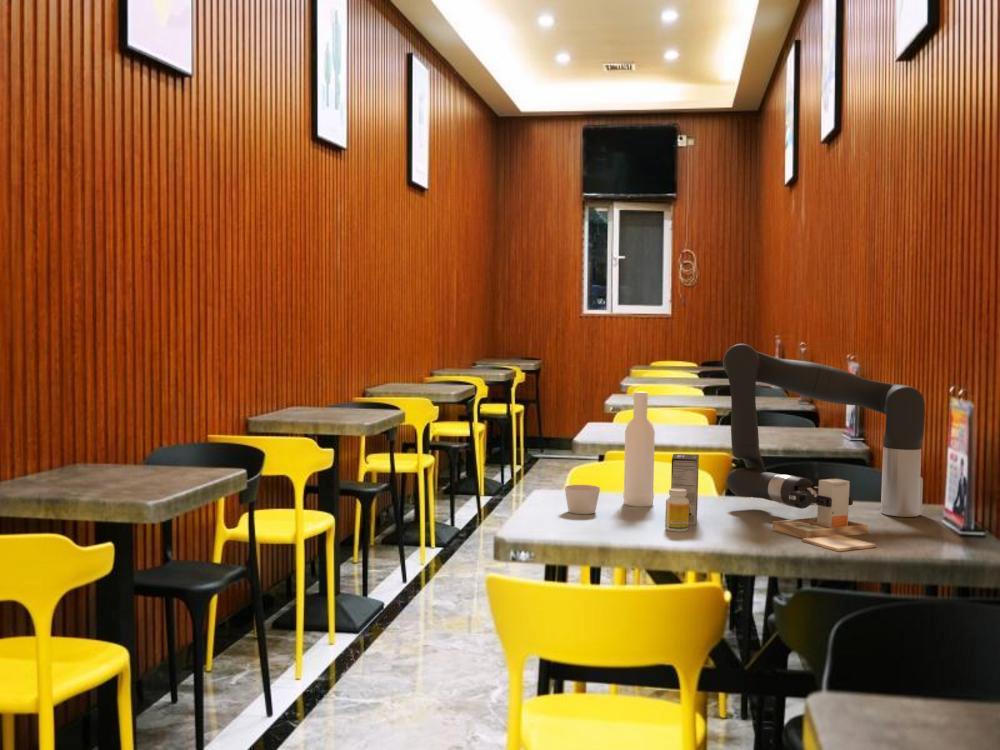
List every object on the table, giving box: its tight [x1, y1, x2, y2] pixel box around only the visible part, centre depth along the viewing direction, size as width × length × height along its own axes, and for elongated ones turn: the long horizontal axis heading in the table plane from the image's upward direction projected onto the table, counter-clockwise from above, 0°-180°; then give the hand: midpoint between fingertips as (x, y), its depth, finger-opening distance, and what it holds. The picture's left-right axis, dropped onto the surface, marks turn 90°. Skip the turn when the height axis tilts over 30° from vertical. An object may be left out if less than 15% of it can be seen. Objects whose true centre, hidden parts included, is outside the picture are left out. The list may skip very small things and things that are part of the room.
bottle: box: [622, 391, 656, 508], centre depth 275 cm, size 8×8×30 cm
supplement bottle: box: [664, 487, 689, 533], centre depth 242 cm, size 5×5×10 cm
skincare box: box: [816, 478, 851, 528], centre depth 243 cm, size 6×4×12 cm
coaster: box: [801, 535, 877, 552], centre depth 228 cm, size 11×11×1 cm
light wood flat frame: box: [772, 516, 869, 539], centre depth 242 cm, size 18×12×2 cm, turn 117°
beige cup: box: [564, 484, 601, 515], centre depth 263 cm, size 9×9×6 cm
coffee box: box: [670, 453, 700, 526], centre depth 252 cm, size 9×6×16 cm
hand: (841, 501), depth 241 cm, fingers closed on skincare box, 6 cm apart
